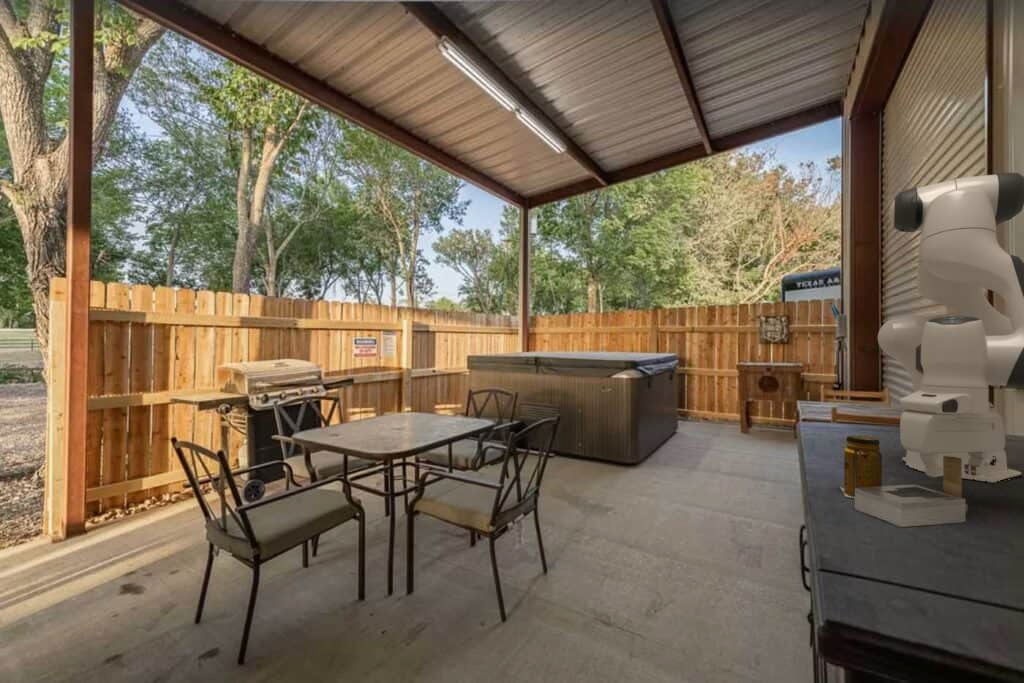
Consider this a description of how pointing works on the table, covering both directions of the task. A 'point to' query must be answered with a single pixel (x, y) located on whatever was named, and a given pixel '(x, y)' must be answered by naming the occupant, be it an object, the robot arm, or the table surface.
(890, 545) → the table surface
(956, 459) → the peg
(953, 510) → the keyhole plate
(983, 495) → the table surface
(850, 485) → the condiment
